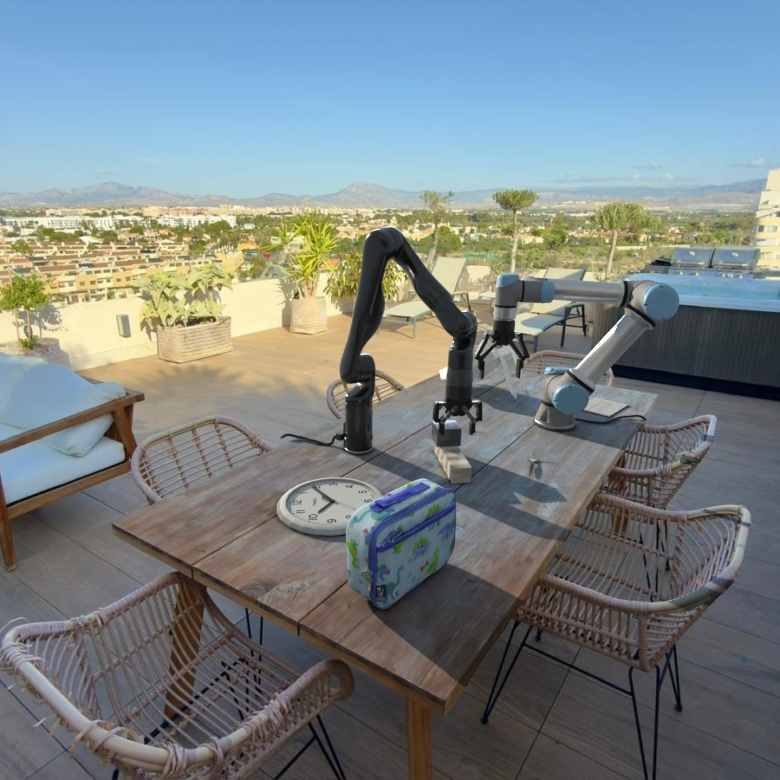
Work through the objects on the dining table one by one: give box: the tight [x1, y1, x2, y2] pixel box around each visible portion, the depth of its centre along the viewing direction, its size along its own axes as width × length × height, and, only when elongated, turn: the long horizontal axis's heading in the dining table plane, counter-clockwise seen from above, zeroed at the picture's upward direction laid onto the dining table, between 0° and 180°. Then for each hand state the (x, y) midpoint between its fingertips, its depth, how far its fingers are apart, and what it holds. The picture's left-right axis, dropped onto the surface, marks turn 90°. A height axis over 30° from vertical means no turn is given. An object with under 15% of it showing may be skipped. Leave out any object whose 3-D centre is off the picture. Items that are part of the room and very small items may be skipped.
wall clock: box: [276, 476, 385, 537], centre depth 142 cm, size 30×2×30 cm
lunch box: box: [345, 477, 457, 610], centre depth 110 cm, size 26×11×21 cm, turn 134°
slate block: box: [430, 419, 463, 447], centre depth 173 cm, size 8×8×6 cm
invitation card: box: [583, 396, 629, 418], centre depth 226 cm, size 21×1×15 cm
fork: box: [529, 450, 539, 475], centre depth 168 cm, size 3×16×2 cm, turn 160°
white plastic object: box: [438, 311, 531, 400], centre depth 245 cm, size 37×45×31 cm
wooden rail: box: [433, 442, 473, 485], centre depth 167 cm, size 24×6×5 cm, turn 8°
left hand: (456, 434), depth 154 cm, fingers open, 8 cm apart
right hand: (499, 377), depth 188 cm, fingers open, 13 cm apart
